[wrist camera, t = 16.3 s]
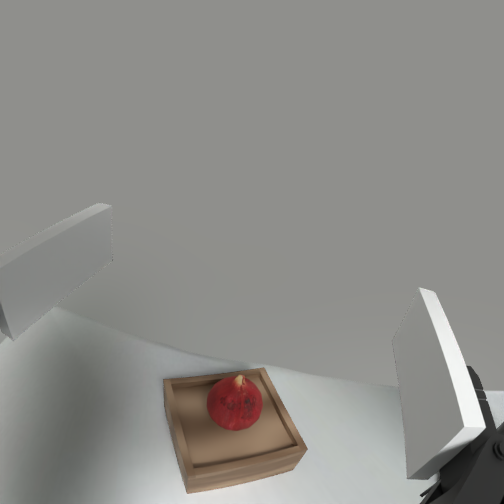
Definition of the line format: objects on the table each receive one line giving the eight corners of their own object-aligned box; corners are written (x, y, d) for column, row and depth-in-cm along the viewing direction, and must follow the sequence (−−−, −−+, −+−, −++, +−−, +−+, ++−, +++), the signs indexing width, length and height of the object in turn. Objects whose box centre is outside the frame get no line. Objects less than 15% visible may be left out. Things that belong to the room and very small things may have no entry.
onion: (264, 434, 31) (281, 393, 27) (215, 448, 28) (223, 409, 25) (243, 397, 35) (255, 352, 32) (197, 407, 33) (202, 362, 29)
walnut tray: (292, 470, 31) (307, 449, 29) (187, 493, 26) (187, 476, 24) (255, 394, 42) (264, 367, 39) (164, 406, 37) (163, 379, 34)
